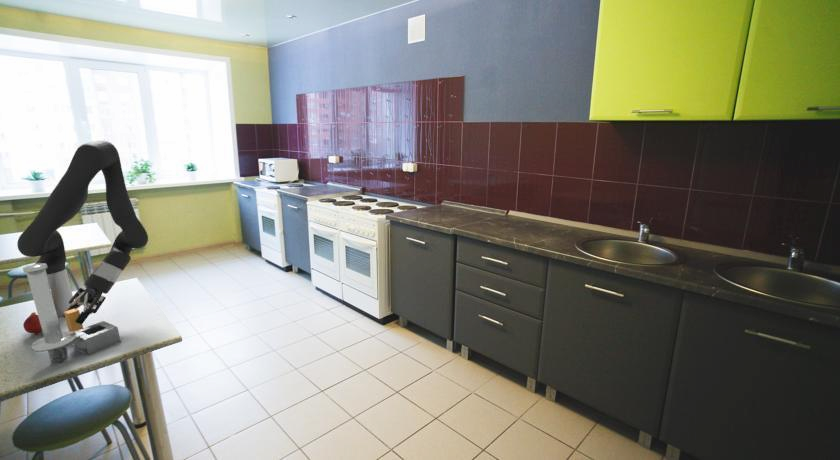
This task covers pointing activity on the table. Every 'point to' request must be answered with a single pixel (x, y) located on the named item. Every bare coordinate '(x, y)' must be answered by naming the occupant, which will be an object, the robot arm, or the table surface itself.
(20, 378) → the table surface
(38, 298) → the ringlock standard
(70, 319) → the orange block
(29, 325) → the pomegranate
